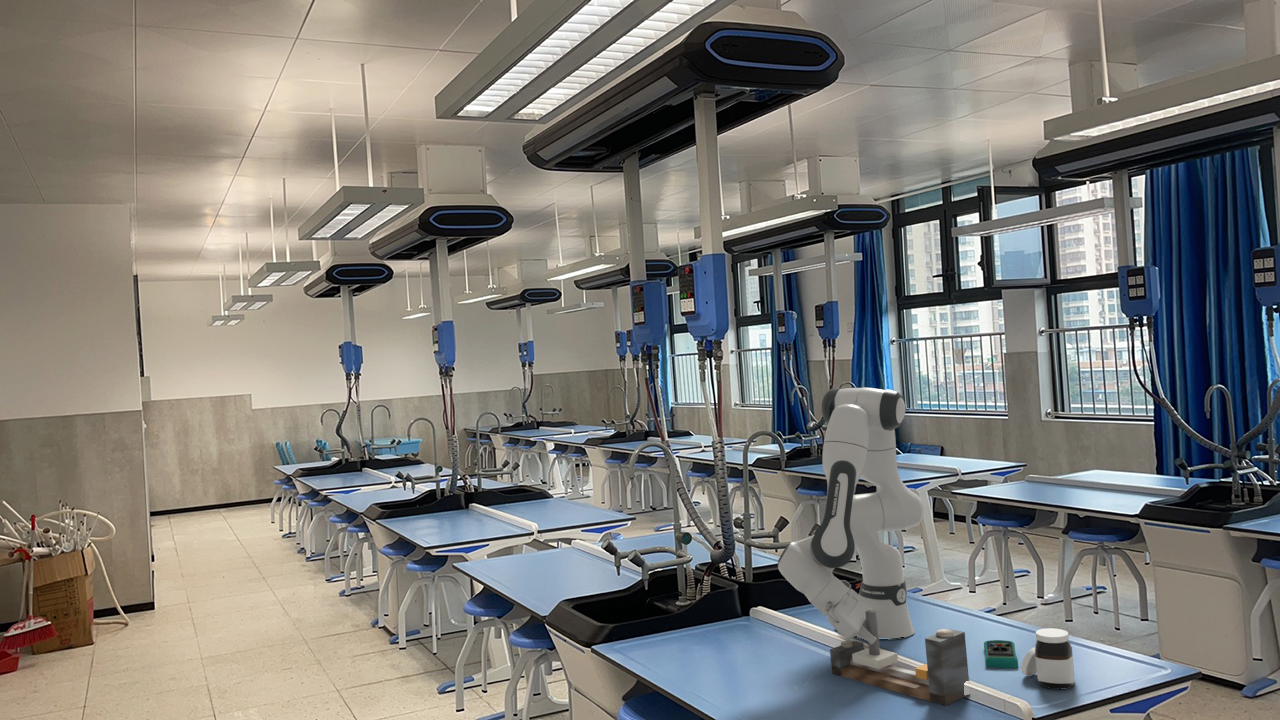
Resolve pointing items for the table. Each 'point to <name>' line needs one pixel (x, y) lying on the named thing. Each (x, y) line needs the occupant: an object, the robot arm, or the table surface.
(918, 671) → the orange end stop block
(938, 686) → the slider track rig
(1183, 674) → the table surface
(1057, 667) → the spread jar
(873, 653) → the carriage
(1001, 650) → the digital multimeter
